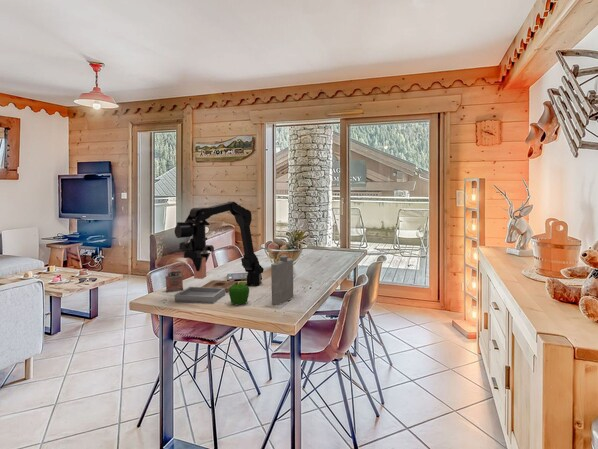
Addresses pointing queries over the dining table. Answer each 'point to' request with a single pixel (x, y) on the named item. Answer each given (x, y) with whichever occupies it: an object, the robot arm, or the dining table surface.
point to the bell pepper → (239, 293)
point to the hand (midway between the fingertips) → (200, 270)
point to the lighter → (174, 281)
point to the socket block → (220, 284)
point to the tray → (200, 295)
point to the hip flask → (282, 280)
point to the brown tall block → (200, 270)
